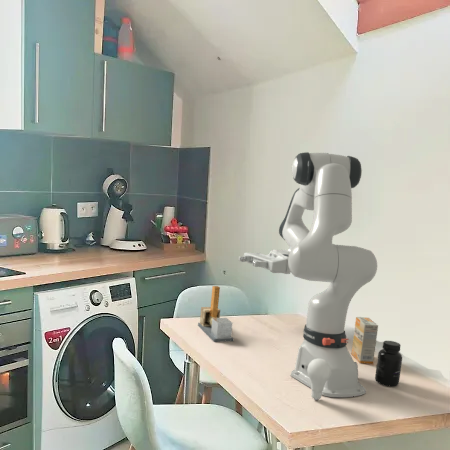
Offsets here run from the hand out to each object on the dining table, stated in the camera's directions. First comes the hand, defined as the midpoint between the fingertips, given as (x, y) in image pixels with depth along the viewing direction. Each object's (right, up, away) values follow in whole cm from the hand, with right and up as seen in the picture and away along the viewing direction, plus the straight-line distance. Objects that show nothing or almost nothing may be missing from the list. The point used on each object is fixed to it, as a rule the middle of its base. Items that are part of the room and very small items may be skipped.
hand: (246, 261), depth 191 cm
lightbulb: (+16, -33, -54) cm, 65 cm away
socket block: (-14, -23, -1) cm, 27 cm away
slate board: (-12, -25, -7) cm, 28 cm away
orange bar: (-12, -23, -6) cm, 26 cm away
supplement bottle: (+40, -33, -37) cm, 64 cm away
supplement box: (+37, -31, -19) cm, 52 cm away
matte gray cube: (-9, -25, -12) cm, 29 cm away
